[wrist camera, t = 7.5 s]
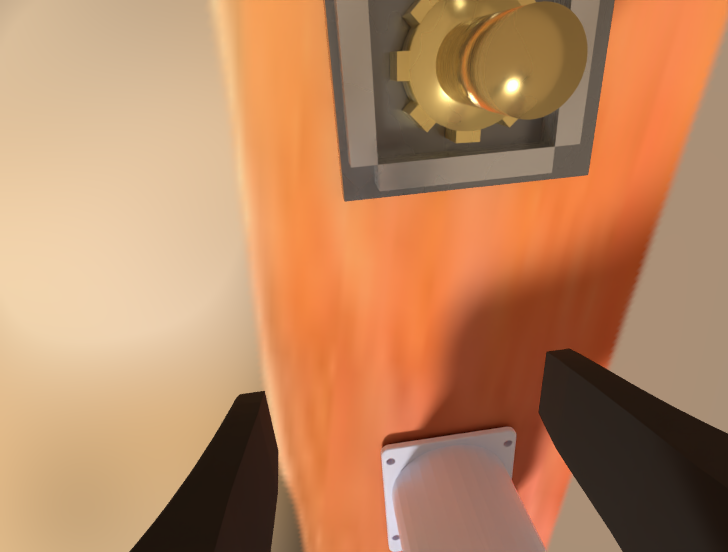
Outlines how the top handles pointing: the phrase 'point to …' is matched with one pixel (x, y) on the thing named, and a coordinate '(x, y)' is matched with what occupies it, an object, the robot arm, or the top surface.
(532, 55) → the planet gear
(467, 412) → the top surface
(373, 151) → the carrier
